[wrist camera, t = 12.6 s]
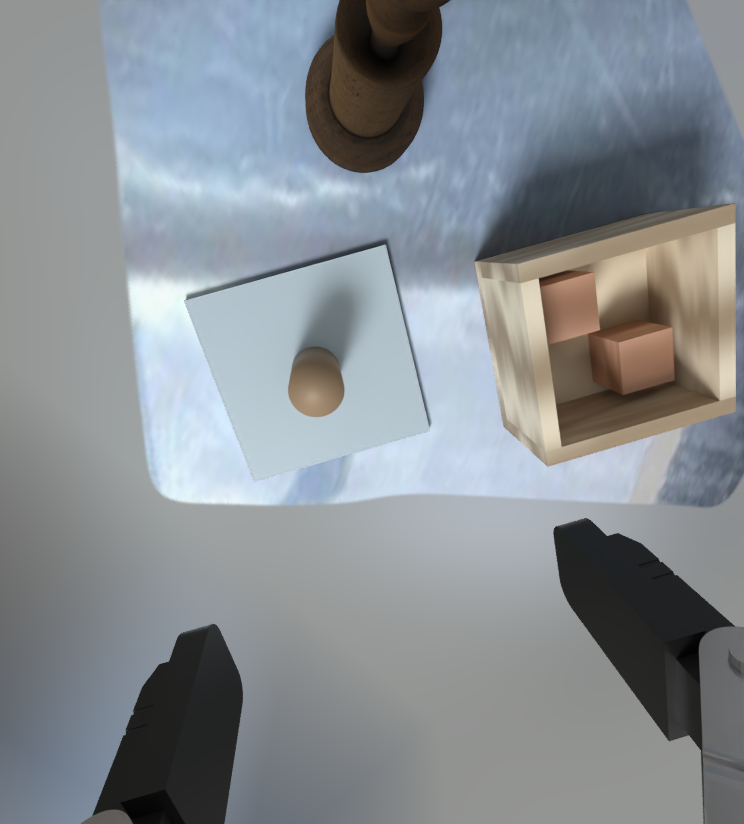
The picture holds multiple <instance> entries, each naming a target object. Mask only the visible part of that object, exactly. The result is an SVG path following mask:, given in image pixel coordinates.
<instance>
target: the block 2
mask: <svg viewBox="0 0 744 824" xmlns="http://www.w3.org/2000/svg"><path fill="white" fill-rule="evenodd" d="M588 339H589V348H590V357H591V367H592V376H593V381H594V382H596V383H598V384H600V385H602V386H604V387H607V388H609V389H611V390H613V391H615V392H618V393H620V394H622V395H625V394H628V393H632V392H635V391H639V390H642V389H646V388H649V387H653V386H656V385H659V384H663V383H666V382H670V381H673V380H675V375H674V353H673V331H672V327H669V326H664V325H659V324H654V323H650V322H645V321H640V320H634V321H630V322H627V323H623V324H620V325H616V326H613V327H609V328H606V329H602V330H599V331H595V332H592V333H588Z"/></svg>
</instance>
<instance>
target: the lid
mask: <svg viewBox="0 0 744 824" xmlns="http://www.w3.org/2000/svg"><path fill="white" fill-rule="evenodd" d="M184 302H185V305H186V308H187V310H188V313H189V315H190V318H191V320H192V323H193V326H194V328H195V331H196V333H197V336H198V339H199V341H200V344H201V346H202V349H203V351H204V354H205V357H206V359H207V362H208V364H209V367H210V370H211V372H212V375H213V377H214V380H215V382H216V385H217V388H218V390H219V393H220V395H221V398H222V401H223V403H224V406H225V408H226V411H227V413H228V416H229V419H230V421H231V424H232V426H233V429H234V432H235V434H236V437H237V439H238V442H239V444H240V447H241V450H242V452H243V455H244V457H245V460H246V463H247V465H248V468H249V470H250V473H251V475H252V478H253V481H254V482H256V481H260V480H263V479H266V478H270V477H273V476H277V475H280V474H284V473H287V472H290V471H294V470H297V469H301V468H304V467H308V466H311V465H315V464H318V463H321V462H325V461H328V460H332V459H335V458H339V457H342V456H345V455H349V454H352V453H356V452H359V451H363V450H366V449H369V448H373V447H376V446H380V445H383V444H387V443H390V442H393V441H397V440H400V439H404V438H407V437H411V436H414V435H418V434H421V433H424V432H428V431H430V428H429V424H428V420H427V416H426V412H425V407H424V403H423V399H422V395H421V391H420V386H419V382H418V378H417V374H416V370H415V365H414V361H413V357H412V353H411V349H410V344H409V340H408V336H407V332H406V328H405V324H404V319H403V315H402V311H401V307H400V303H399V298H398V294H397V290H396V286H395V282H394V277H393V273H392V269H391V265H390V261H389V256H388V252H387V248H386V245H382V246H378V247H375V248H371V249H367V250H364V251H360V252H357V253H353V254H349V255H346V256H342V257H339V258H335V259H332V260H328V261H324V262H321V263H317V264H314V265H310V266H307V267H303V268H299V269H296V270H292V271H289V272H285V273H281V274H278V275H274V276H271V277H267V278H264V279H260V280H256V281H253V282H249V283H246V284H242V285H238V286H235V287H231V288H228V289H224V290H221V291H217V292H213V293H210V294H206V295H203V296H199V297H196V298H192V299H188V300H185V301H184Z"/></svg>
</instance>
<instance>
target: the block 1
mask: <svg viewBox="0 0 744 824" xmlns="http://www.w3.org/2000/svg"><path fill="white" fill-rule="evenodd" d="M539 285H540V293H541V300H542V307H543V315H544V322H545V329H546V337H547V344H548V345H550V344H553V343H557V342H560V341H564V340H567V339H571V338H574V337H578V336H581V335H585V334H588V333H592V332H595V331H599V330H600V325H599V314H598V304H597V294H596V284H595V273H594V272H586V271H571V270H566V271H563V272H559V273H556V274H552V275H549V276H545V277H541V278H539Z"/></svg>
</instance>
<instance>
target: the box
mask: <svg viewBox="0 0 744 824" xmlns="http://www.w3.org/2000/svg"><path fill="white" fill-rule="evenodd" d="M475 267H476V273H477V279H478V284H479V290H480V295H481V301H482V307H483V312H484V318H485V324H486V329H487V335H488V340H489V346H490V352H491V357H492V363H493V369H494V374H495V380H496V385H497V391H498V397H499V402H500V408H501V414H502V419H503V425H504V427H505V428H506V429H507V430H508V431H509V432H510V433H511V434H512V435H513V436H514V437H516V438H517V439H518V440H519V441H520V442H521V443H522V444H523V445H524V446H526V447H527V448H528V449H529V450H530V451H531V452H532V453H533V454H534V455H535V456H537V457H538V458H539V459H540V460H541V461H542V462H543V463H544V464H545V465H547V466H551V465H555V464H558V463H562V462H565V461H568V460H572V459H575V458H579V457H582V456H585V455H589V454H592V453H596V452H599V451H602V450H606V449H609V448H613V447H616V446H620V445H623V444H626V443H630V442H633V441H637V440H640V439H643V438H647V437H650V436H654V435H657V434H660V433H664V432H667V431H671V430H674V429H678V428H681V427H684V426H688V425H691V424H695V423H698V422H701V421H705V420H708V419H712V418H715V417H718V416H722V415H725V414H729V413H732V412H736V353H735V203H734V204H725V205H716V206H708V207H699V208H690V209H682V210H673V211H665V212H656V213H648V214H644V215H640V216H637V217H633V218H630V219H626V220H622V221H619V222H615V223H612V224H608V225H605V226H601V227H597V228H594V229H590V230H587V231H583V232H579V233H576V234H572V235H569V236H565V237H561V238H558V239H554V240H551V241H547V242H543V243H540V244H536V245H533V246H529V247H525V248H522V249H518V250H515V251H511V252H508V253H504V254H500V255H497V256H493V257H490V258H486V259H482V260H479V261H475ZM566 270H571V271H586V272H594V273H595V284H596V294H597V304H598V314H599V325H600V330H602V329H606V328H609V327H613V326H616V325H620V324H623V323H627V322H630V321H634V320H640V321H645V322H650V323H654V324H659V325H664V326H669V327H672V331H673V353H674V375H675V380H673V381H670V382H666V383H663V384H659V385H656V386H653V387H649V388H646V389H642V390H639V391H635V392H632V393H628V394H625V395H622V394H620V393H618V392H615V391H613V390H611V389H609V388H607V387H604V386H602V385H600V384H598V383H596V382H594V381H593V376H592V367H591V357H590V348H589V339H588V334H585V335H581V336H578V337H574V338H571V339H567V340H564V341H560V342H557V343H553V344H550V345H548V344H547V337H546V329H545V322H544V315H543V307H542V300H541V293H540V285H539V278H541V277H545V276H549V275H552V274H556V273H559V272H563V271H566Z"/></svg>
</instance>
